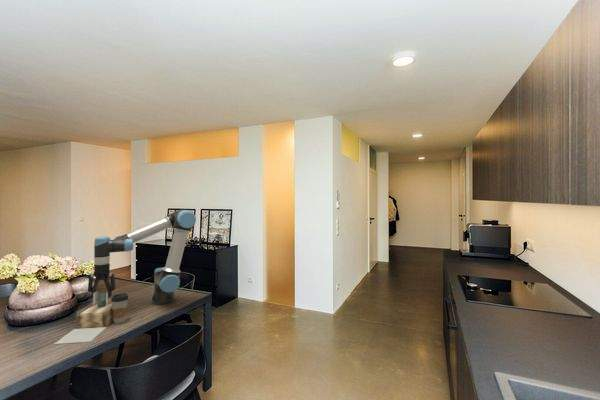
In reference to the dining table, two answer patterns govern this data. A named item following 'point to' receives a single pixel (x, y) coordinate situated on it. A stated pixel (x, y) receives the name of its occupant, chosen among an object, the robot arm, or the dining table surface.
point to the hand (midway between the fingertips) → (101, 303)
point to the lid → (98, 306)
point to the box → (94, 319)
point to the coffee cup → (119, 308)
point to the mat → (81, 335)
